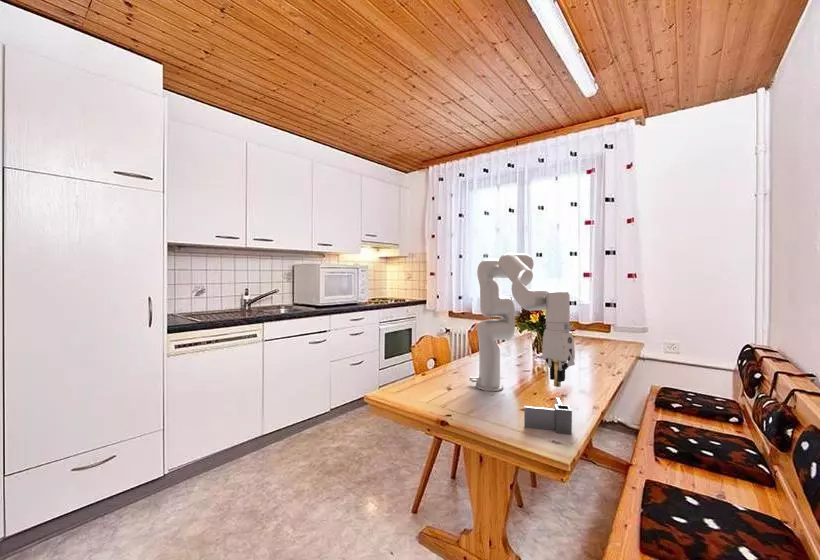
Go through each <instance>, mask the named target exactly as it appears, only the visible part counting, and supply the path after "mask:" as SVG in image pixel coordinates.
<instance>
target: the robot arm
mask: <svg viewBox="0 0 820 560" xmlns="http://www.w3.org/2000/svg"><path fill="white" fill-rule="evenodd" d="M533 269H534V259H533V257H531V255H530V254H528V253H521V252H520V253H519V252H517V253H516V252H515V253H514V252H508V253H507V252H506V253H505V254H502V255H501V256H500V257H499V258H490V259H484V260H482V261H480V262H479V264H478V266H477V271H476V273H477V275H476V276H477V280H478V285H479V299H480V301H479V306H480V314H481V315H482V316H484V317H487V318H488V317H489V318H491V317H495V318H496V317H500V318H498V319H485V320H482V321H481V320H480V322H478V324H477V327H476V328H477V329H476V331H477V337H478V349H479V351H478V354H479V357H478V358H479V360H478V362H479V363H478V367H479V368H478V371H479V373H478V376H476V377H475V376H469V381H471V383H475V387H476V388H477V389H478V390H480V389H481V391H485V392H499V391H500V392H501V391H502V390H503V389H504V384H503V383H501V349H500V346H499V345H498V343H497V342H496V341H501V340H502V341H503V340H509V339H513V337H514V335H515V330H516V325H515V324H516V320H515V319H516V317H515V316H516V312H515V303H514V301H513V299H514V300H515V302H516V303H517V304H518V305H519V306H520V307H521V308H522V309H523V310H526V311H530V312H531V311H545V329H544V332H543V336H542V337H543V338H542V349H541V351H542V353H541V359H543V360H544V361H545V362H546V364H547V366H548V367H547V368H549V379H550V380H551V381H554V362H553V361H552V359H553V360H557V361H559V370H557V381H558V382H565V380H566V370H567V369H568V368H569V367H573V366H575V361H574V360H575V357H576V356H575V354H576V351H575V341H574V336H573V332H572V331H571V330H572V329H573V326H572V324H571V325H570V316H571V314H570V306H571V305H570V300H571V299H570V294H569V291H566V290H554V289H550V288H549V289H543V288H542V289H539V288H537V289H534V288H533V289H529V288H528V287H526V286H528V285H529V284H531V282H532V281H533V279H534V278H533V277H534V274H533V271H532V270H533ZM495 278H497V279H498V278H499V279H500V278H501V279H504V278H505V279H509V281H511V283H512V284H511V295H512V297H513V299H512V298H511V297H509V296H508V295H507V296H506V295H499V293H500V289H499V285H498V283H497V281H496V280H495Z"/></svg>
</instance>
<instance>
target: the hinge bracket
mask: <svg viewBox="0 0 820 560" xmlns="http://www.w3.org/2000/svg"><path fill="white" fill-rule="evenodd" d="M523 407H524V408H523V409H524V414H523V415H524V418H523V419H524V421H523V422H524V423H523V424H524V425H523V427H524V428H526V429H527V428H529V429H537V430H544V431H545V430H546V431H547V430H548V431H555V433H556V434H562V435H572V434H573V425H572V424H573V410H572V408H571V406H570V404H569V405H567V404H563V403H562V400H561V399H560V397H555V403H554V406H553V408H549V407H539V406H529V405H524V406H523Z"/></svg>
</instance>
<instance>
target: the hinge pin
mask: <svg viewBox="0 0 820 560" xmlns="http://www.w3.org/2000/svg"><path fill="white" fill-rule="evenodd" d="M552 361H553V362H554V380H553V386H554V387H555V388H561V385H562V383H561V382H558V381H557V370H559V361H557V360H553V359H552Z"/></svg>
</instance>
